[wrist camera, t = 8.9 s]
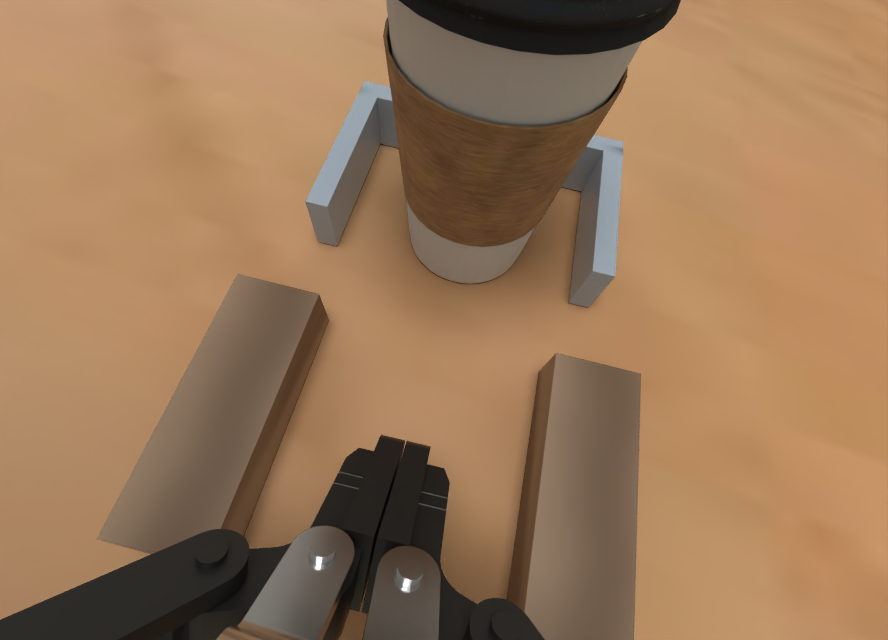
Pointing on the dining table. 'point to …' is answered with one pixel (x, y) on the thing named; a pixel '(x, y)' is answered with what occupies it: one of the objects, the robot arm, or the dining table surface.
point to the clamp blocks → (269, 410)
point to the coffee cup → (500, 113)
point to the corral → (377, 126)
